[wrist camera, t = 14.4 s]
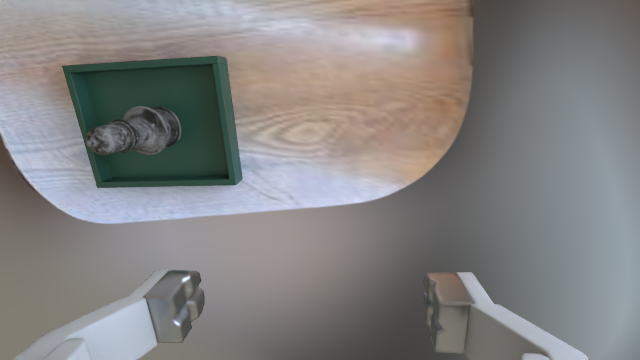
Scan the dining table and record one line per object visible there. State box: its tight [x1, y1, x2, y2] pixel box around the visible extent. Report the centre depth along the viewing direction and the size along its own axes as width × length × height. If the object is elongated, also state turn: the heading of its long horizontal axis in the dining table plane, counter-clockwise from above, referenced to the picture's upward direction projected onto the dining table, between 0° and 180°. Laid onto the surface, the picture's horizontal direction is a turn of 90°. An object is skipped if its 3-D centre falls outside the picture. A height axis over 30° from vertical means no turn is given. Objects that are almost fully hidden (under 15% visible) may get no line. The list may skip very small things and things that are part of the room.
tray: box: [62, 56, 242, 188], centre depth 38 cm, size 16×20×3 cm
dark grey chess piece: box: [86, 106, 182, 155], centre depth 33 cm, size 6×6×12 cm
